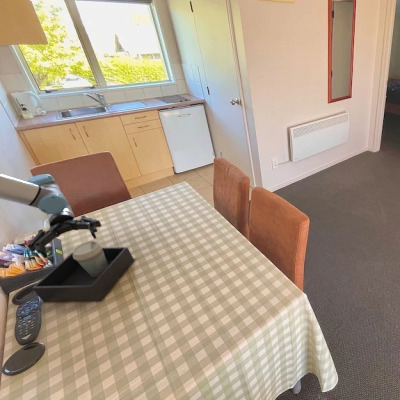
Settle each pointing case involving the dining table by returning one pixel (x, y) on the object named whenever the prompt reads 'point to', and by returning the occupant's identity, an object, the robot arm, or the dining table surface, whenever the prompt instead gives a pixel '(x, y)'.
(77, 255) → the coffee cup
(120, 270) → the shallow black tray
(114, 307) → the dining table surface
